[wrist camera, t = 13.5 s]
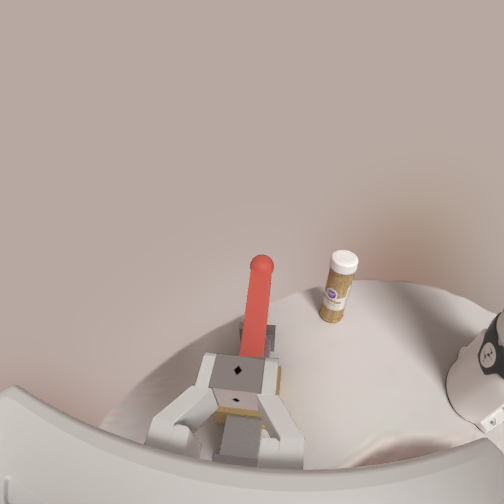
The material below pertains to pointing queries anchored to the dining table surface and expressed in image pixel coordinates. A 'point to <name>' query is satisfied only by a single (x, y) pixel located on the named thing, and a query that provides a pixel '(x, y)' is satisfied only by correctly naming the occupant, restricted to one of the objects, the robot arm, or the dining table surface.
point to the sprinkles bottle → (338, 285)
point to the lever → (257, 307)
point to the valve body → (243, 422)
